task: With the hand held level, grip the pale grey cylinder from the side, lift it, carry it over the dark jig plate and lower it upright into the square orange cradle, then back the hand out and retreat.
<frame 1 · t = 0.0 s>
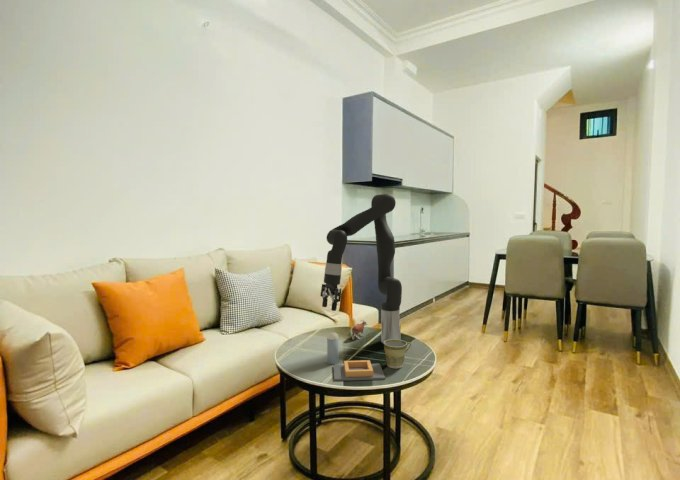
hand: (328, 308, 170), 22 cm above the table, tool pointing down, fingers open, 8 cm apart
pale grey cylinder: (333, 362, 164), on the table
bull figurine: (359, 337, 199), on the table
ceramic cup: (398, 365, 161), on the table
jig: (358, 372, 153), on the table
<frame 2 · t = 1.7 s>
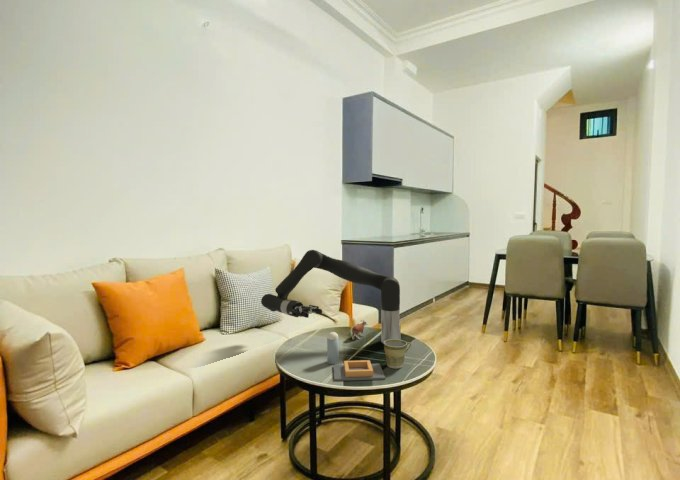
hand: (315, 313, 171), 20 cm above the table, tool horizontal, fingers open, 8 cm apart
nothing on the table moved.
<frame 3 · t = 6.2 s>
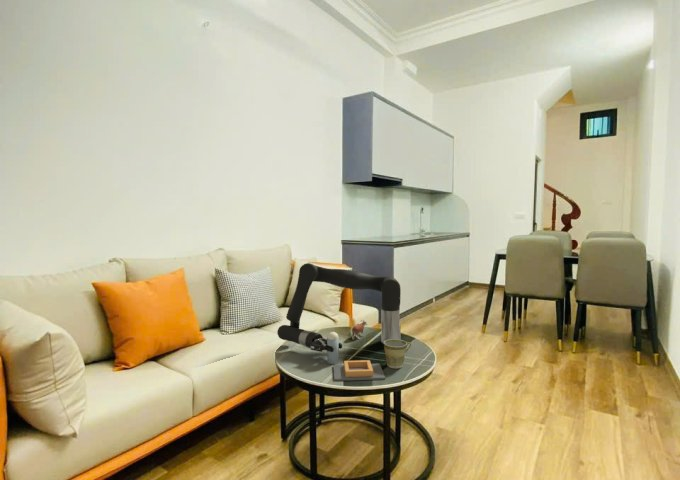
hand: (337, 347, 162), 7 cm above the table, tool horizontal, fingers closed on pale grey cylinder, 5 cm apart
pale grey cylinder: (333, 362, 164), on the table, touching gripper
everything else where it was.
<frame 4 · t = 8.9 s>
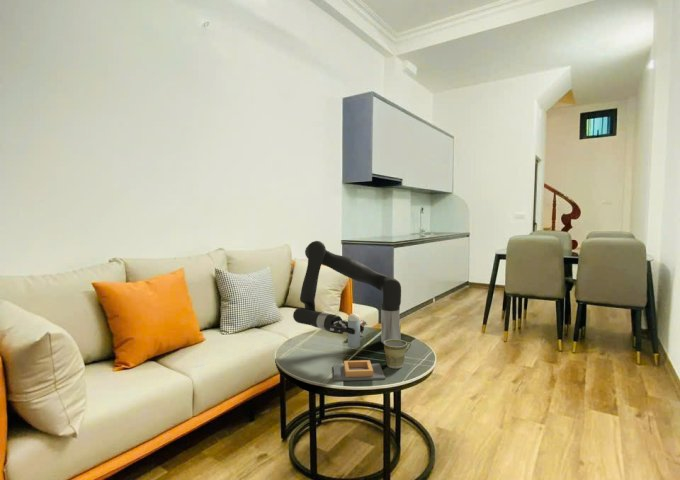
hand: (358, 330, 152), 18 cm above the table, tool horizontal, fingers closed on pale grey cylinder, 5 cm apart
pale grey cylinder: (354, 345, 154), point 11 cm above the table, touching gripper
everything else where it was.
when the fingers open (9 cm above the table, at t = 11.7 s): pale grey cylinder drops 1 cm, resting on jig.
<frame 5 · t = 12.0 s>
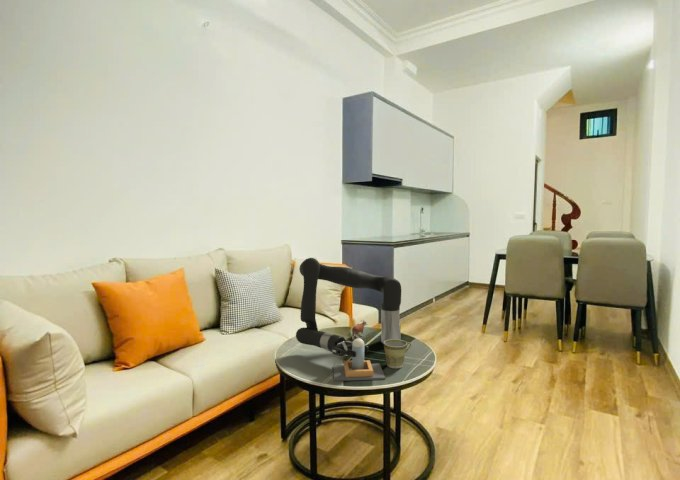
hand: (361, 351, 151), 9 cm above the table, tool horizontal, fingers open, 7 cm apart
pale grey cylinder: (358, 370, 153), point 1 cm above the table, touching jig
everything else where it was.
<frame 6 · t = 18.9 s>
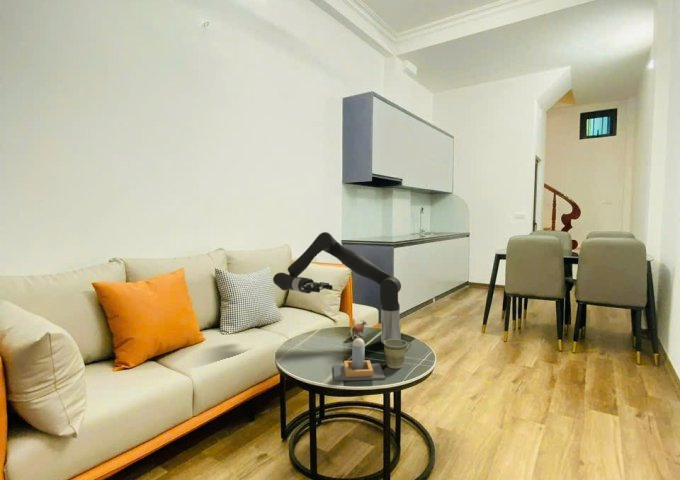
hand: (325, 288, 177), 30 cm above the table, tool horizontal, fingers open, 8 cm apart
nothing on the table moved.
at the end: pale grey cylinder 0.1 cm off-centre on the jig, point 0.9 cm above the jig's base; pale grey cylinder tilted 2°; the gripper is holding nothing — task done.
